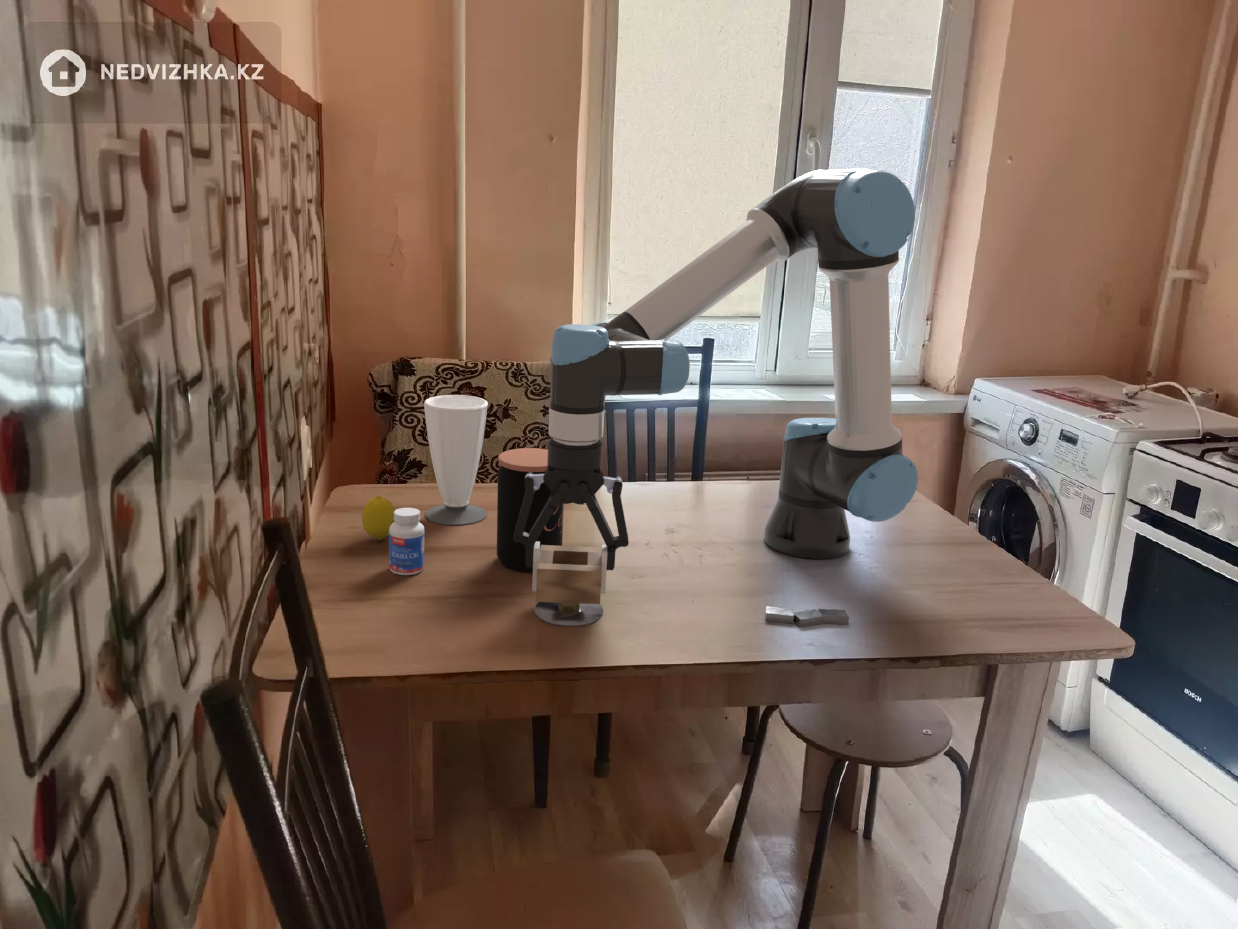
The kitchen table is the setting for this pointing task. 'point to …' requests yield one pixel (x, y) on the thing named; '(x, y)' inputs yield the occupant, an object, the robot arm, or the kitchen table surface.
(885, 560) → the kitchen table surface
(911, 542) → the kitchen table surface
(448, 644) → the kitchen table surface
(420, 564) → the pill bottle
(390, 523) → the lemon
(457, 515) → the cup
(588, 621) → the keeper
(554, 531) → the coffee jar
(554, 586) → the square wooden ring block
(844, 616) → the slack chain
